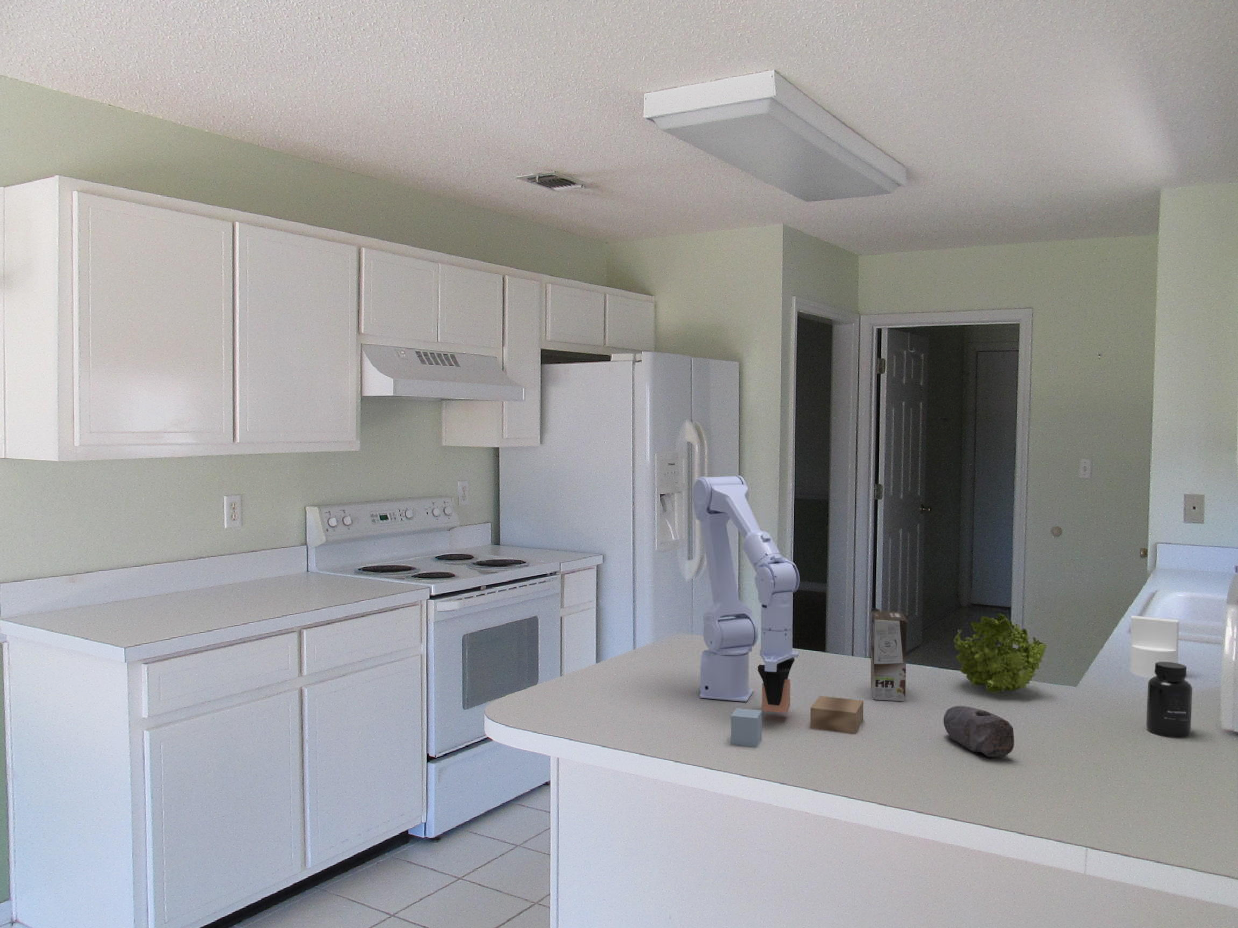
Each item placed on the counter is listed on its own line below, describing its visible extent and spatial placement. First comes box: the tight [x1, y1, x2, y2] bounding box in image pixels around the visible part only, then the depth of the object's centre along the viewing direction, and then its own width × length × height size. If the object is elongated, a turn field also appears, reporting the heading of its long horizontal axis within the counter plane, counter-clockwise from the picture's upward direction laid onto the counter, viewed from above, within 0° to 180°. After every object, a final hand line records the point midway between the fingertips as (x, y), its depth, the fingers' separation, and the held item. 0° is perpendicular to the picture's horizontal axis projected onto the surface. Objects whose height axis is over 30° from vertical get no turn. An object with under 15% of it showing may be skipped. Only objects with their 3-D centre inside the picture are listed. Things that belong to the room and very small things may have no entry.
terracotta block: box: [761, 678, 791, 714], centre depth 176 cm, size 4×4×5 cm
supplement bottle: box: [1145, 662, 1193, 738], centre depth 168 cm, size 7×7×12 cm
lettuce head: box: [953, 613, 1047, 694], centre depth 194 cm, size 18×16×16 cm
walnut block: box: [809, 695, 864, 735], centre depth 173 cm, size 8×8×4 cm
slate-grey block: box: [730, 707, 763, 748], centre depth 164 cm, size 4×4×5 cm
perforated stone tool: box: [942, 705, 1015, 758], centre depth 160 cm, size 15×5×7 cm, turn 17°
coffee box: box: [870, 610, 908, 702], centre depth 191 cm, size 9×6×16 cm
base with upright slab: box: [1129, 615, 1180, 679], centre depth 206 cm, size 9×9×12 cm
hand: (776, 700), depth 176 cm, fingers closed on terracotta block, 4 cm apart
